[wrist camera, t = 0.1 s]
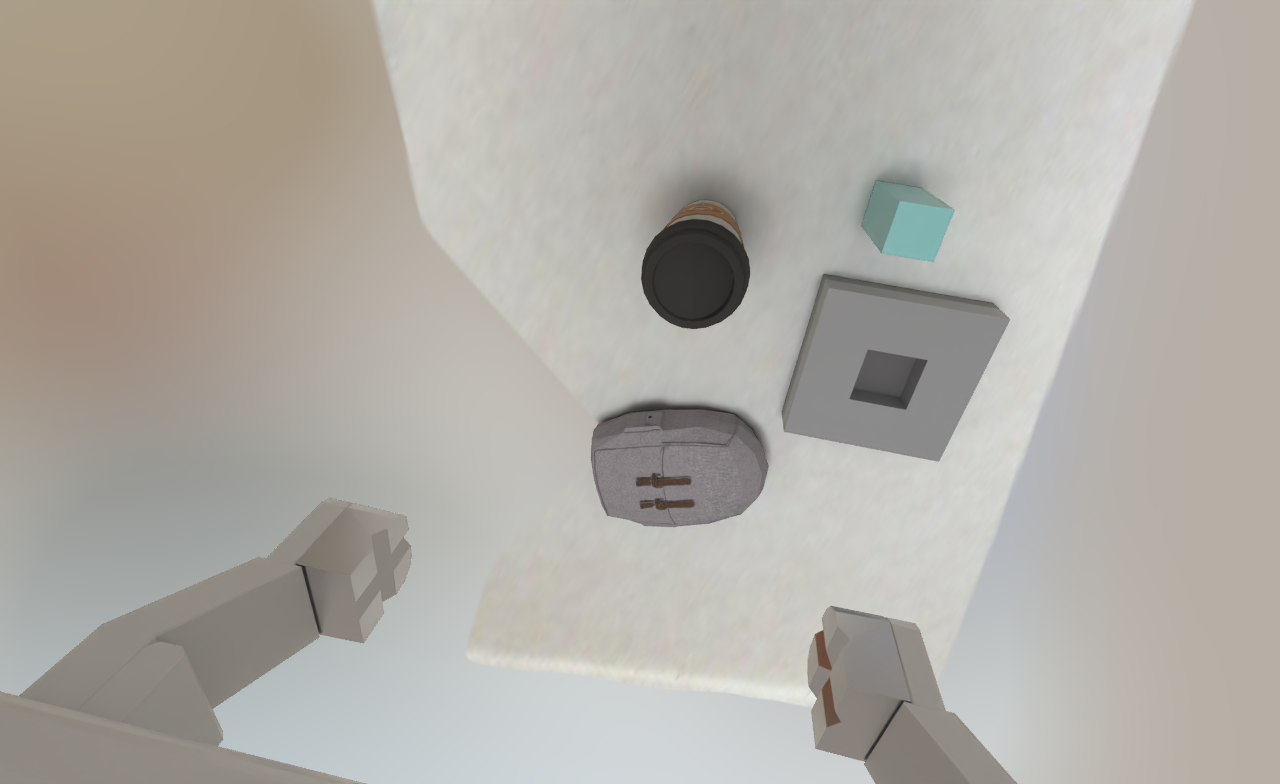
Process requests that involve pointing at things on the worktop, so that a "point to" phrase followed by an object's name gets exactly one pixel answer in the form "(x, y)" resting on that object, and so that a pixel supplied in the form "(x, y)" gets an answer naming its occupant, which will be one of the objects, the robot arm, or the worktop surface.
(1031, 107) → the worktop surface
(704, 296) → the coffee cup
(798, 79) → the worktop surface
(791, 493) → the worktop surface
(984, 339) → the socket
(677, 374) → the worktop surface
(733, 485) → the small grey backpack
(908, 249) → the plug
